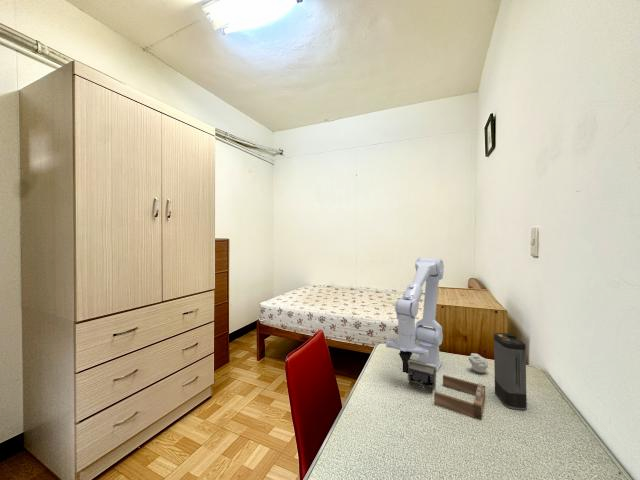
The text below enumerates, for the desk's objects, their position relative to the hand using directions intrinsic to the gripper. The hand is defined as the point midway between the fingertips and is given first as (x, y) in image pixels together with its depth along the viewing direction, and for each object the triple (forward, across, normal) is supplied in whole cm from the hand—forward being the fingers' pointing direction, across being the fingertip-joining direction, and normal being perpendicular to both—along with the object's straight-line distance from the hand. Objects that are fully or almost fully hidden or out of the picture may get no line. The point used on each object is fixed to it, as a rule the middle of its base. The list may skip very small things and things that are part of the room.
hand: (406, 372), depth 93 cm
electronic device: (+4, +30, +10) cm, 32 cm away
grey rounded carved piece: (+4, +20, +26) cm, 33 cm away
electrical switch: (+4, +5, +1) cm, 7 cm away
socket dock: (+4, +17, +1) cm, 17 cm away
